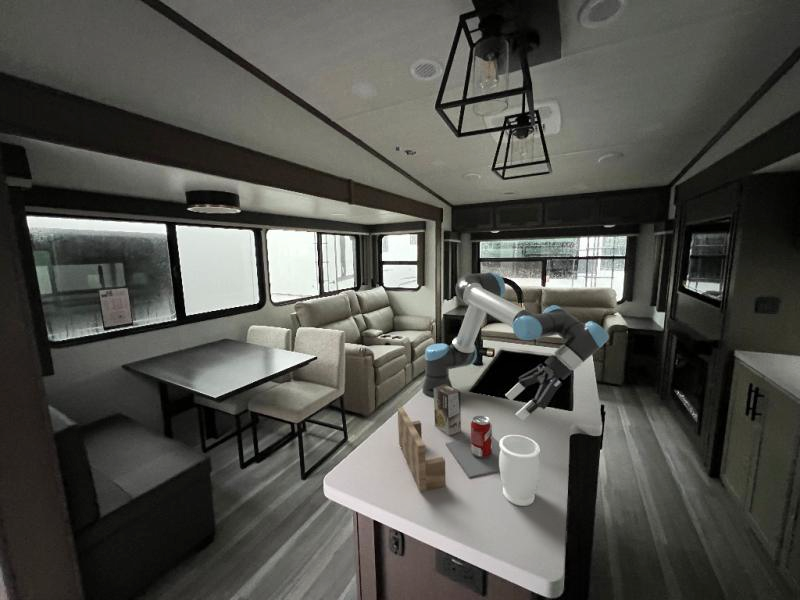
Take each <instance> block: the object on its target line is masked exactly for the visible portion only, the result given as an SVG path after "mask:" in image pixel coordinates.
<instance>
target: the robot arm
mask: <svg viewBox="0 0 800 600" xmlns="http://www.w3.org/2000/svg"><path fill="white" fill-rule="evenodd" d="M456 282H457V283H456V284H455V294H456V296H457V298H458V299H459V300H460V301H461V302H462V303H463V304H466V305H468V306H467V310H466V312H465V315H464V318H463V320H462V323H461V327H460V329H459V332H458V334H457V336H455V338H453V340H452V342H451V344H450V345H448V344H446V343H443V342H441V343H434V344H430V345H428V346H427V347H426V348H425V351H424V361H425V362H424V363H425V364H424V365H425V366H424V367H425V368H424V370H425V377H424V381H423V383H422V393H423V394H424V395H426V396H428V397H430V398H431V397H432V398H434V388H435V387H438V386H441V385H444V384H446V385H449V386H451V387H453V384H452V381H451V379H450V373H449V372H450V370H452V369H457V368H464V367H467V366H470V365H472V364H474V363H475V362H476V360H477V355H478V354H477V352H478V351H477V348H476V345H475V341H476V339H477V337H478V334H479V331H480V329H481V327H482V324H483V322H484V319H485V317H486V316H487V315H486V314H488V315H489V316H491V317H493V318H494V319H496V320H498V321H499V322H501V323H503V324H505V325H507V326H509V327H510V328H512V331H513V333H514V334H515V336H516V338H518V339H520V341H521V340H522V341H534V340H537V339H541V338H548V337H552V336H559V337H560V338H562V339H563V340H564V341H565V343H563V344H562V345H560V346H559V347H558V348H557V350H555V351H554V354H551V355H550V356H549V357H548V358H547V359H546V360H545V361H544V364H545V365H546V366H544V365H543V364H542V363H539V364H538V365H537V366H536V367H535V368H534V367H533V368H532V369H531V370H529V371H527V372H525V373H524V374H522V375H520V376H519V377H518V379H519V380H518V382H517V383H516V384H515V385H514V386H513V387H512V388H511V389H509V391H508V392H507V393H505V394H504V395H505V397H506V398H507V399H509V401H511V402H512V401H513V400H514V399H515V398H516V397H518V395H520V394H521V393H522V392H523V391H524V390H525V389H527V388H528V386H531V385H534V384H536V383H539V387H538V389H537V392H536V393H535V396H534V398H531V400H529V401H528V402H527V403H526V404H524V405H523V407H521V408H520V409H519V410H517V412H516V413H515V416H516V417H518V419H520V420H521V421H522V422H523V421H525V420H526V419H527V418H528V417H529V416H531V414H533V413H534V412H535V411H536V410H537V409H540V408H541V409H542V410H545V409H546V408H547V407H548V404H549V403H550V402H551V400H552V399H553V396H554V395H555V393H556V392H557V390H558V389H559V388H560V387H561V386H562V385H563V383H562V381H560V380H559V379H561V380H565V379H566V378H567V377H569V376H570V375H571V374H572V371H575V370H576V369H577V368H578V367H581V365H582V364H583V363H584V362H586V360H588V359H589V358H590V357H591V356H592V355H594V354H595V353H596V352H597V351H598V350H599V349H601V348H602V347H603V345H604V344H605V343H607V341H608V340H609V339H610V335H609V333H608V331H606V330H605V329H604V327H602V326H601V325H600V324H598V323H596V322H595V321H592V320H590V321H587V322H585V323H584V322H581V321H580V320H578V318H576V317H574V316H573V315H572V314H571V313H569V312H567V311H566V310H565V309H564V308H561V306H558V305H554V304H553V305H551V306H549V307H546V308H545V309H544V311H543V312H542V313H533V312H531V311H529V310H527V309H526V308H523V307H522V306H519V305H518V304H515V303H513V302H511V301H509V300H507V299H506V298H503V296H504V295H505V292H506V284H505V280H504V279H503V277H502V276H501V275H500V274H499V273H497V272H482V273H468V274H464V275H463V276H461V277H460V278H459V279H458V281H456Z"/></svg>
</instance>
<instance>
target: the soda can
mask: <svg viewBox="0 0 800 600" xmlns="http://www.w3.org/2000/svg"><path fill="white" fill-rule="evenodd" d="M492 426H493V425H492V423H491V421H490V418H489V417H488V416H485V415H475V416H474V417H472V421H471V422H470V439H471V452H472V454H473V455H475V456H477V457H480V458H486V457H489V456H490V455H491V454H492V436H493V432H492V431H493V430H492V429H493V427H492Z"/></svg>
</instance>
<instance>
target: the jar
mask: <svg viewBox="0 0 800 600" xmlns="http://www.w3.org/2000/svg"><path fill="white" fill-rule="evenodd" d="M498 442H499V446H500V449H501V450H500V455H499V468H500V471H499V474H500V480H501V483H502V486H503V488H502V493H503V497H504V498H505V499H506V500H507V501H508V502H509V503H511V504H513V505H516V506H521V507H524V506H525V507H526V506H530V505H531V504H533V503H534V501H535V498H536V497H535V492H536V490H537V487H538V481H539V477H540V461H539V459H540V458H539V455H540V452H541V451H540V446H539V444H538V443H537V442H536V441H535V440H533V439H532V438H531V437H527V436H525V435H519V434H507V435H505V436H502V437H501V438H500V439H499V441H498Z"/></svg>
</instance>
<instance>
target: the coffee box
mask: <svg viewBox="0 0 800 600" xmlns="http://www.w3.org/2000/svg"><path fill="white" fill-rule="evenodd" d="M433 404H434V405H433V407H434V427H436V428H437V429H439V430H441V431H442V432H443V433H444V434H446V435H448V436H451V435H454V434H457V433H460V432H461V430H462V427H461V426H462V424H461V423H462V421H461V420H462V417H461V415H462V413H461V411H462V409H461V407H462V406H461V390H459V389H457V388H455V387H453V386H452V387H451V386H449V385H446V384H444V385H441V386H438V387H435V388H434V397H433Z"/></svg>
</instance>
